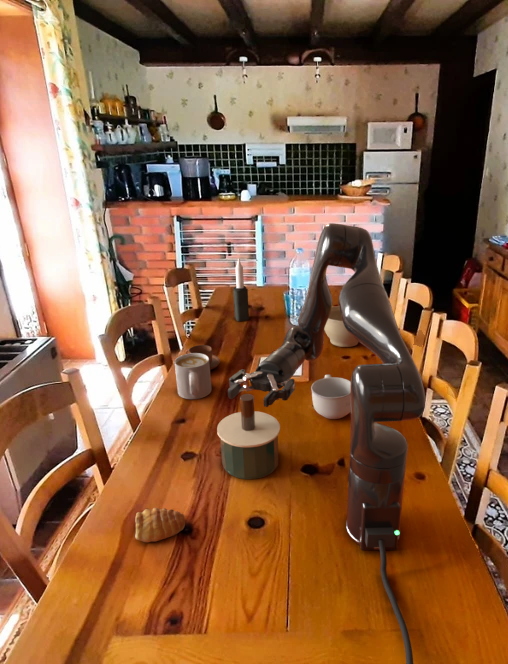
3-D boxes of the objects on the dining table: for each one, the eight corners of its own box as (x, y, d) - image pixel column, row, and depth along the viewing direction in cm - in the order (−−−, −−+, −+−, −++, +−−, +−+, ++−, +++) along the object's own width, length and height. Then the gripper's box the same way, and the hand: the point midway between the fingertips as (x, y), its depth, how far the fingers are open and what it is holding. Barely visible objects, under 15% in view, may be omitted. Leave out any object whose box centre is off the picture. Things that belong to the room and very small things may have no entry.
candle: (234, 318, 199) (230, 257, 189) (245, 316, 200) (242, 256, 191) (237, 321, 194) (234, 260, 185) (249, 319, 196) (247, 258, 186)
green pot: (280, 478, 103) (279, 445, 100) (221, 480, 104) (218, 447, 101) (276, 444, 115) (275, 413, 112) (223, 446, 115) (221, 415, 112)
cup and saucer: (178, 374, 153) (176, 356, 151) (190, 358, 164) (188, 341, 162) (214, 376, 150) (213, 358, 148) (224, 360, 161) (223, 342, 159)
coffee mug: (181, 382, 147) (178, 353, 143) (213, 383, 146) (211, 352, 142) (171, 405, 135) (167, 373, 131) (206, 405, 134) (203, 373, 130)
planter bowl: (371, 352, 160) (372, 321, 156) (321, 351, 163) (322, 321, 159) (366, 333, 175) (367, 305, 171) (320, 333, 178) (321, 305, 173)
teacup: (354, 425, 120) (355, 397, 117) (310, 422, 123) (310, 395, 120) (352, 398, 133) (353, 371, 130) (312, 396, 135) (312, 370, 132)
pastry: (183, 512, 95) (181, 497, 94) (187, 538, 89) (185, 522, 88) (135, 521, 94) (132, 505, 92) (136, 547, 88) (133, 531, 86)
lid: (282, 448, 100) (281, 412, 96) (215, 451, 100) (212, 415, 97) (277, 413, 113) (277, 381, 109) (218, 416, 113) (216, 383, 110)
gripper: (251, 349, 118) (217, 377, 105) (306, 358, 112) (277, 389, 99) (252, 377, 121) (219, 407, 108) (306, 387, 114) (278, 421, 102)
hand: (247, 399), depth 103 cm, fingers open, 8 cm apart
